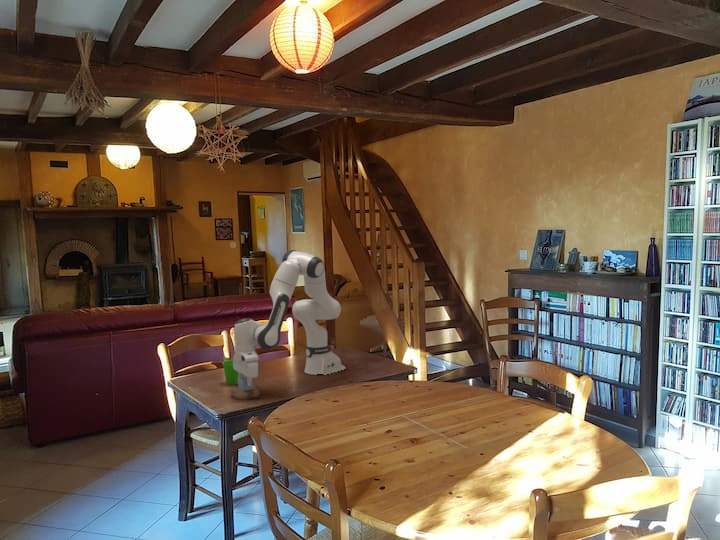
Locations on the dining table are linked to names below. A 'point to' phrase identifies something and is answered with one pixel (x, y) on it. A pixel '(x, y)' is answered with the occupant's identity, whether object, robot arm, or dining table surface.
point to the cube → (244, 384)
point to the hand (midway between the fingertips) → (245, 383)
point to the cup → (230, 372)
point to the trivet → (245, 393)
